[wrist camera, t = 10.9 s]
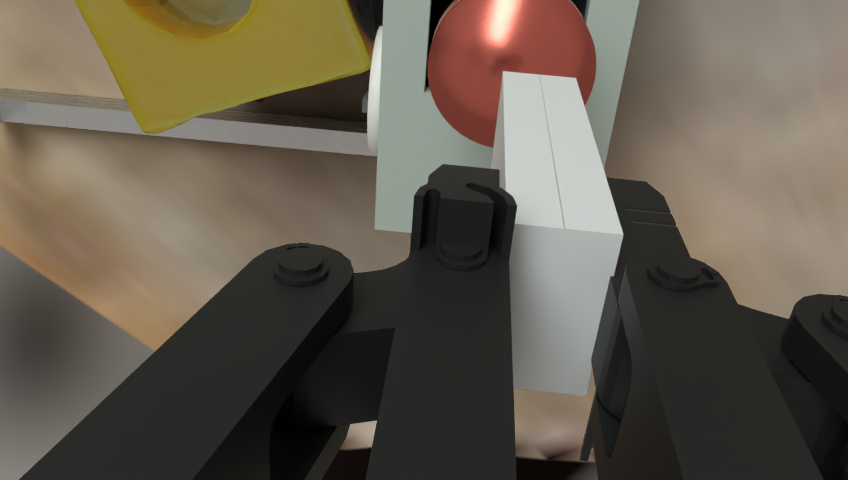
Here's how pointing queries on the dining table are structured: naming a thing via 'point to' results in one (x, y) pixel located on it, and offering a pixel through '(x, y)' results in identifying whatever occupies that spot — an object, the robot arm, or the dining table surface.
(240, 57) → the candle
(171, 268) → the dining table surface
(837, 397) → the robot arm
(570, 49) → the plunger
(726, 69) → the dining table surface
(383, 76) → the gauge cabinet
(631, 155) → the dining table surface
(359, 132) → the rail track
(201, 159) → the dining table surface
